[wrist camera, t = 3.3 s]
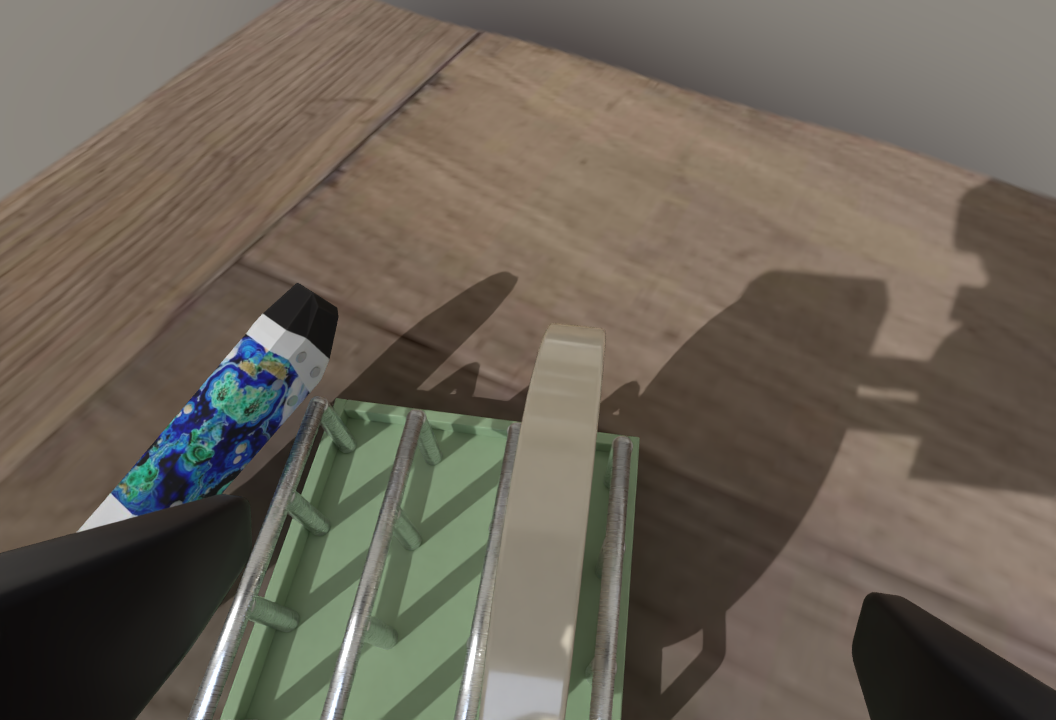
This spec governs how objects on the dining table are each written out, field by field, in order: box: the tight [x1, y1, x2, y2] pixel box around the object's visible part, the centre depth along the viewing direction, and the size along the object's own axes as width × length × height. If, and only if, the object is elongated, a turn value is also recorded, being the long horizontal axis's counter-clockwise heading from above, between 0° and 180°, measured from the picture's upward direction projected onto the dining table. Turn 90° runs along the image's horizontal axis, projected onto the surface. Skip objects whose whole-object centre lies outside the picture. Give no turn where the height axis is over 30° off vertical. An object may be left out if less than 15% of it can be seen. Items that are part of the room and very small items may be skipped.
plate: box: [478, 323, 606, 720], centre depth 13 cm, size 10×1×10 cm, turn 171°
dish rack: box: [187, 396, 640, 720], centre depth 17 cm, size 11×10×4 cm
